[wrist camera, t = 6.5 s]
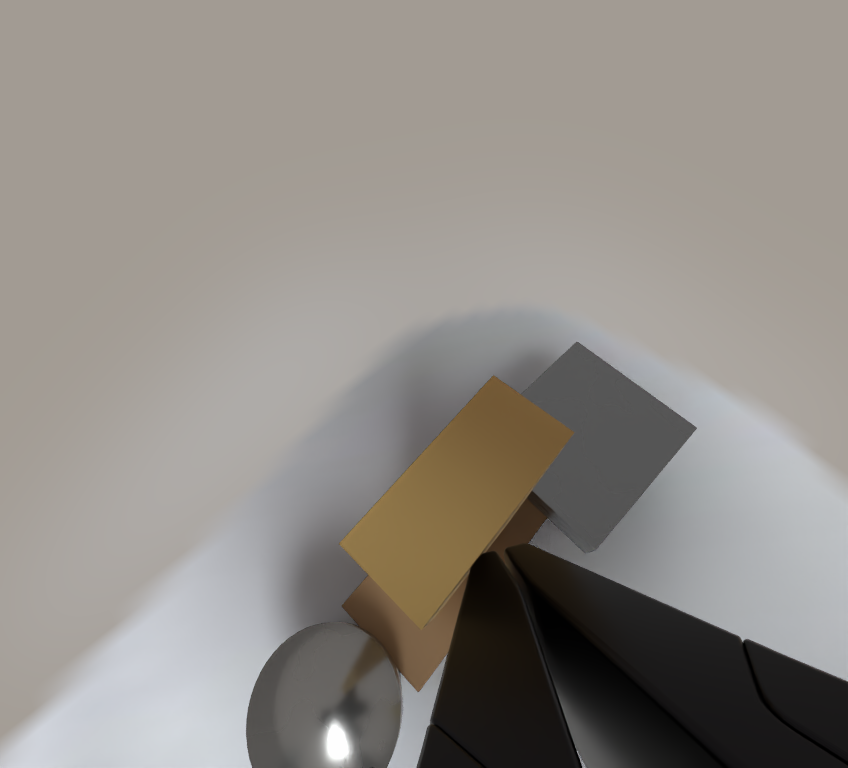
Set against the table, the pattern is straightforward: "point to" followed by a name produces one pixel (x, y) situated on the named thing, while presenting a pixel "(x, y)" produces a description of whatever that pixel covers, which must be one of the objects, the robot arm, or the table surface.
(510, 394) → the link
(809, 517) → the table surface
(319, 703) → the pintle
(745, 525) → the table surface
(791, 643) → the table surface
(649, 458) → the block
